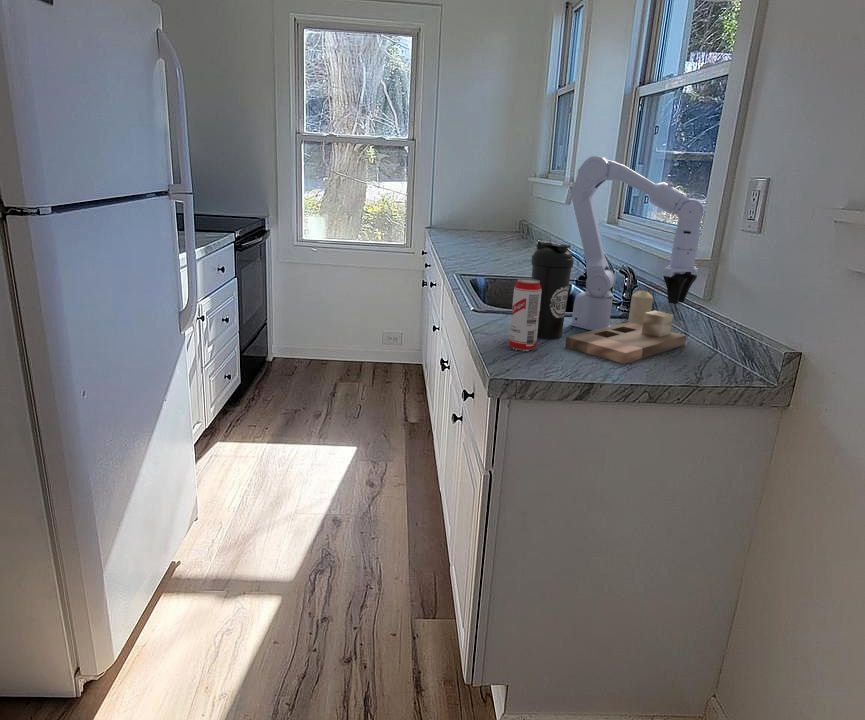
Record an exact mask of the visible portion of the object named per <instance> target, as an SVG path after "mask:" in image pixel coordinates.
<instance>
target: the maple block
mask: <svg viewBox="0 0 865 720" xmlns="http://www.w3.org/2000/svg"><path fill="white" fill-rule="evenodd" d="M673 319H674V314H673V313H669V312H664V311H659V310H651V311H650V312H646V313H645V314H644V321H643V327H642V333H646V334H650V335H655V336H659V337H662V336H665V335H669V334H670V333H671V332H672V325H673Z"/></svg>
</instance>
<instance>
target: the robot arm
mask: <svg viewBox="0 0 865 720" xmlns="http://www.w3.org/2000/svg"><path fill="white" fill-rule="evenodd" d="M606 181H619V182H623V183H625V184H626V185H628V186H630V187H632V188H634V189H636V190H637V191H639V192H642V193H644V194H646V195H647V196H648V197H649V203H651V204H652V205H654V206H655V207H657V208H659V209H661V210H663V211H664V212H666V213H668V214H670V215H672V216H675V215H676V216H677V217H678V219H677V227H676V228H675V230H674V236H673V237H674V238H673V244H672V250H671V257H670V263H669V265H668V266H666V267H663V271H662V276H663V280H664V283H665V286H666V290H667V291H666V292H667V302H668V303H669V304H672V305H673V304H674V305H678V303H681V304H682V303H684V301H685V299H686V297H687V295H688V292H689V291H690V288H691V287H692V285H693V283H694V282H695V281H696V280H697V277H698V275H697V273H698V272H699V267H698V268H696V266H694V265H696V263H695V262H696V258H697V253H698V245H699V242H700V241H699V240H700V236H701V231H700V228H701V225H702V223H701V220H702V218H703V217H704V215H705V214H704V213H705V212H704V205H703V204H702V202H701V201H700V200H698V198H695V197H691V196H692V195H691V194H690V193H689V192H687V193H684V191H681V190H680V189H678V188H676V187H674V186H675V184H674V183H672V182H668V183H667V182H665V181H662V182H659V183H654V182H653V181H652V180H649V179H648V178H646V177H645V176H643V175H641V174H640V173H638V172H636V171H634V170H633V169H631V168H629V167H628V166H627V165H625V164H622V163H619V162H617V161H615V160H609V159H608V158H607V157H603V156H598V155H593V156H589V157H588V158H587V159H585V160H584V162H583V163H582V164H581V165H580V166H579V168H578V169H577V175H576V179H575V181H574V183H573V187H572V190H571V195H570V196H571V197H570V198H571V200H572V201H571V203H572V206H573V209H574V214H575V218H576V223H577V228H578V231H579V235H580V239H581V244H582V248H583V253H584V257H585V262H586V263H585V264H586V267H585V271H586V281H585V287H586V290H585V291H582V292H579V293H578V294H577V295H576V297H575V299H574V302H573V307H572V308H573V309H572V319H571V322H570V323H569V325H570V326H573V327H577V328H580V329H584V330H589V331H593V330H597V329H602V328H606V327H610V326H611V325H610V322H611V313H612V305H613V299H614V294H613V292H612V291H611V289H612V288H613V287H614V285H615V282H616V277H615V274H614V271H612V270H611V269H610V266H609V263H608V260H607V258H606V255H605V251H604V247H603V243H602V238H601V233H600V229H599V224H598V221H597V216H596V212H595V207H594V203H593V199H592V197H593V196H594V194H595V192H596V191H597V190H598V188H599V187H600V186H601V185H602V184H604V182H606ZM693 273H695V274H693Z"/></svg>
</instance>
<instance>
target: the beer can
mask: <svg viewBox="0 0 865 720" xmlns="http://www.w3.org/2000/svg"><path fill="white" fill-rule="evenodd" d="M516 281H517V282H516V283H515V284H514V288H513V296H512V307H511V318H510V327H509V328H510V329H509V330H510V331H509V337H508V338H509V341H508V344H509V346H510V348H511V349H512V348H514V349H517V350H525V351H526V350H532V349H533V350H535V348H536V347H537V341H538V338H537V332H538V322H539V312H540V302H541V292H542V289H541V286H540V281H539V280H535V279H532V278H518V279H517V280H516ZM514 349H513V350H514ZM517 350H516V351H517ZM533 350H532V351H533Z"/></svg>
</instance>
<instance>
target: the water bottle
mask: <svg viewBox="0 0 865 720" xmlns="http://www.w3.org/2000/svg"><path fill="white" fill-rule="evenodd" d="M569 248H570V249H571V245H569V244H553V243H552V242H551V241H541V242H538V243H537V244H536V250H535V251H534V252H533V254H532V255H531V261H530V262H531V265H532V267H531V269H532V270H531V279H535V280H539V281H540V286H541V289H542V292H541V302H540V312H539V322H538V332H537V339H541V338H543V340H558V339H560V338H562V335H563V330H564V329H563V328H564V321H565V314H566V309H567V301H568V296H569V287H570V279H571V273H572V268H573V266H574V262H575V261H574V260H575V259H574V257H573V255H572V253H571V251H569V250H568V249H569Z"/></svg>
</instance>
